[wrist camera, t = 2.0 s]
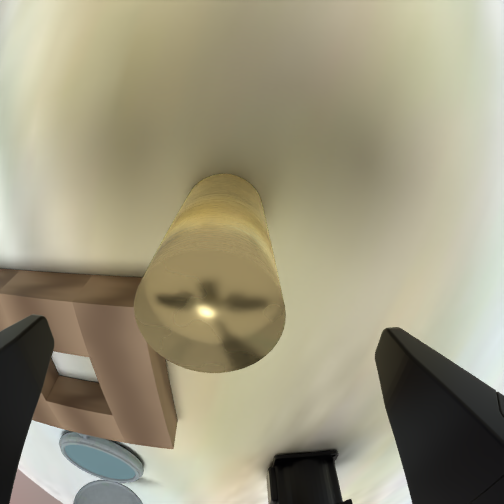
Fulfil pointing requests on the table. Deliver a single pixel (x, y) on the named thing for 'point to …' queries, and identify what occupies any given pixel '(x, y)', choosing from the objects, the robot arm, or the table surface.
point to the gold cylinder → (213, 282)
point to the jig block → (95, 356)
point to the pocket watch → (102, 469)
